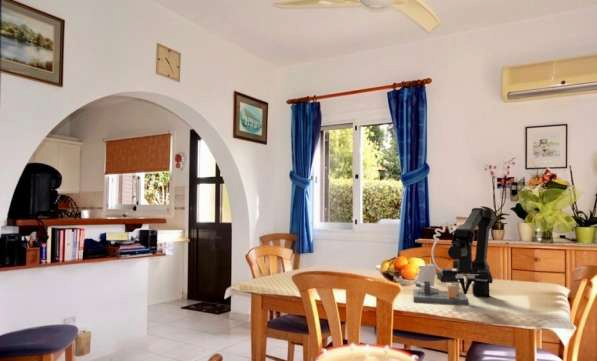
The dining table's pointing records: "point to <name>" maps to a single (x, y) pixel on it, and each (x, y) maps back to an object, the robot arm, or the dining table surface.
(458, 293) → the paddle
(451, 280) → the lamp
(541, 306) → the dining table surface
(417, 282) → the rocker
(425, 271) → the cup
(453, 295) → the paddle
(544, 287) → the dining table surface
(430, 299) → the panel
